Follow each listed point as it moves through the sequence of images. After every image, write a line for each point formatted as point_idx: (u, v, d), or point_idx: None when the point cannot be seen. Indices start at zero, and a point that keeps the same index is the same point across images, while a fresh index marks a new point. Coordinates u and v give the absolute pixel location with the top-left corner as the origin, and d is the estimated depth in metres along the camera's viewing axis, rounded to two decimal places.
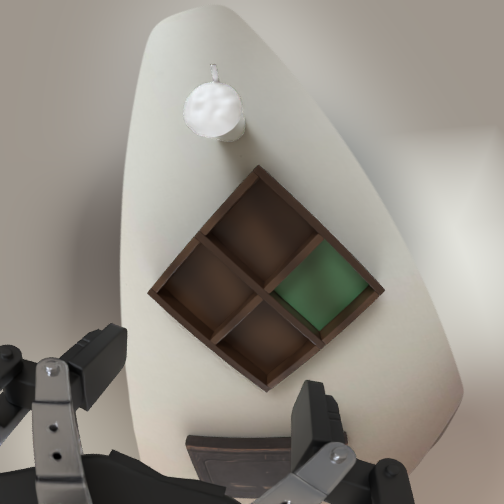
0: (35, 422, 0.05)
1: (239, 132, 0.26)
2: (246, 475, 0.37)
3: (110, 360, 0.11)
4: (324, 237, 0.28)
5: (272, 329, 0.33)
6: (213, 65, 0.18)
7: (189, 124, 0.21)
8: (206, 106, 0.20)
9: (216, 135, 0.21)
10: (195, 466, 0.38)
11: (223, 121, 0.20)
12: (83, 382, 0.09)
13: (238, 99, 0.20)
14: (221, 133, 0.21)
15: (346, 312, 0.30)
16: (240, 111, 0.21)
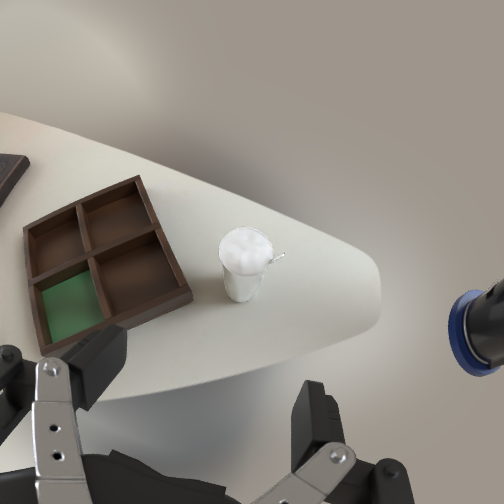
0: (35, 422, 0.05)
1: (227, 286, 0.29)
2: None
3: (110, 360, 0.11)
4: (106, 320, 0.26)
5: (63, 256, 0.31)
6: (282, 255, 0.23)
7: (239, 227, 0.26)
8: (247, 242, 0.25)
9: (219, 245, 0.25)
10: (7, 155, 0.38)
11: (227, 250, 0.24)
12: (83, 382, 0.09)
13: (244, 271, 0.24)
14: (219, 249, 0.25)
15: (42, 317, 0.26)
16: (232, 270, 0.24)
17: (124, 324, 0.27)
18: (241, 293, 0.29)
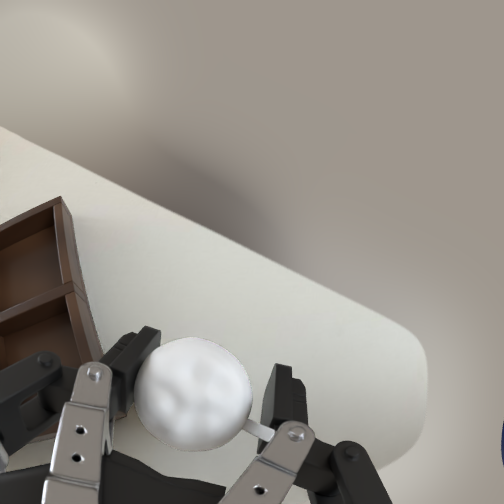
0: (63, 422, 0.06)
1: None
2: None
3: None
4: None
5: None
6: (270, 436, 0.08)
7: (177, 342, 0.11)
8: (190, 386, 0.10)
9: (136, 378, 0.10)
10: None
11: (146, 403, 0.09)
12: (124, 385, 0.09)
13: (184, 448, 0.09)
14: (134, 388, 0.10)
15: None
16: (160, 440, 0.09)
17: None
18: None
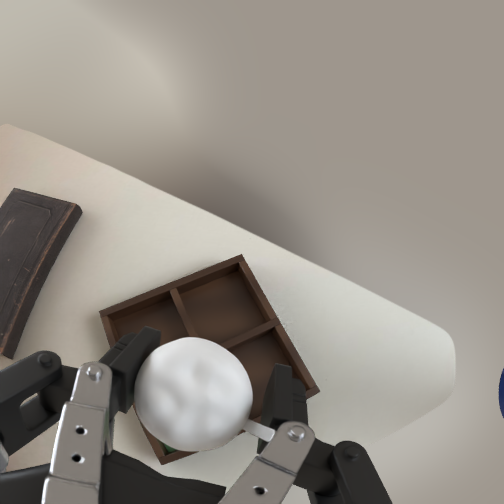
0: (63, 422, 0.06)
1: None
2: (15, 239, 0.33)
3: None
4: None
5: None
6: (270, 436, 0.08)
7: (178, 342, 0.11)
8: (190, 386, 0.10)
9: (136, 379, 0.10)
10: (49, 198, 0.37)
11: (146, 403, 0.09)
12: (124, 385, 0.09)
13: (184, 448, 0.09)
14: (135, 389, 0.10)
15: None
16: (160, 440, 0.09)
17: None
18: None
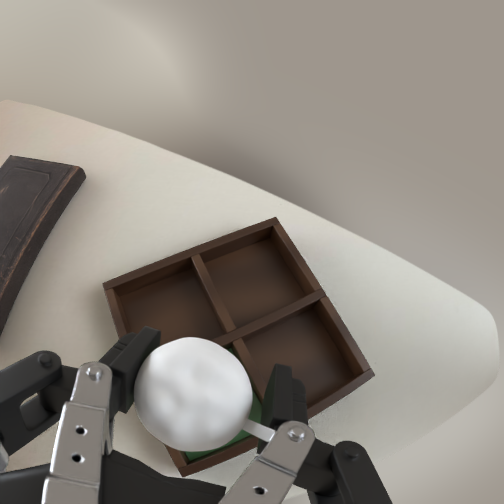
0: (63, 422, 0.06)
1: None
2: (7, 206, 0.27)
3: None
4: None
5: (176, 329, 0.25)
6: (270, 436, 0.08)
7: (177, 342, 0.11)
8: (190, 387, 0.10)
9: (136, 379, 0.10)
10: (49, 162, 0.31)
11: (146, 403, 0.09)
12: (124, 385, 0.09)
13: (184, 448, 0.09)
14: (134, 389, 0.10)
15: None
16: (160, 440, 0.09)
17: None
18: None
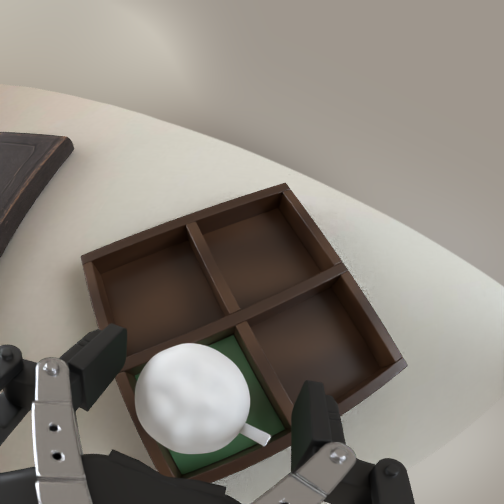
0: (35, 422, 0.05)
1: None
2: None
3: (110, 360, 0.11)
4: None
5: (166, 311, 0.21)
6: (266, 440, 0.08)
7: (177, 348, 0.11)
8: (189, 391, 0.10)
9: (136, 383, 0.10)
10: (36, 135, 0.27)
11: (147, 407, 0.09)
12: (83, 382, 0.09)
13: (183, 450, 0.09)
14: (135, 393, 0.10)
15: None
16: (160, 442, 0.09)
17: None
18: None
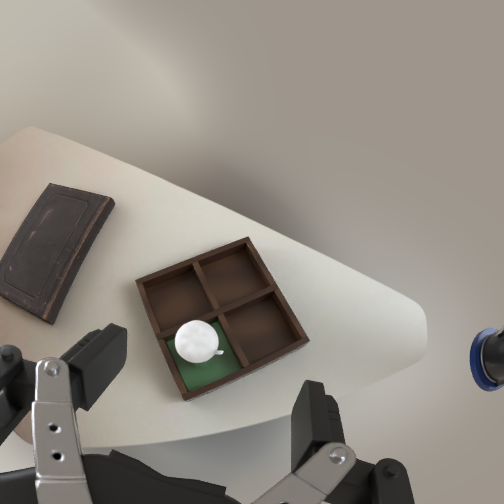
0: (35, 422, 0.05)
1: None
2: (55, 225, 0.43)
3: (110, 360, 0.11)
4: (245, 368, 0.35)
5: (182, 309, 0.40)
6: (221, 352, 0.28)
7: (191, 321, 0.31)
8: (196, 336, 0.29)
9: None
10: (85, 192, 0.47)
11: (180, 343, 0.29)
12: (83, 382, 0.09)
13: (193, 360, 0.29)
14: (175, 339, 0.30)
15: (176, 366, 0.35)
16: (184, 358, 0.29)
17: (257, 368, 0.36)
18: (197, 365, 0.33)
